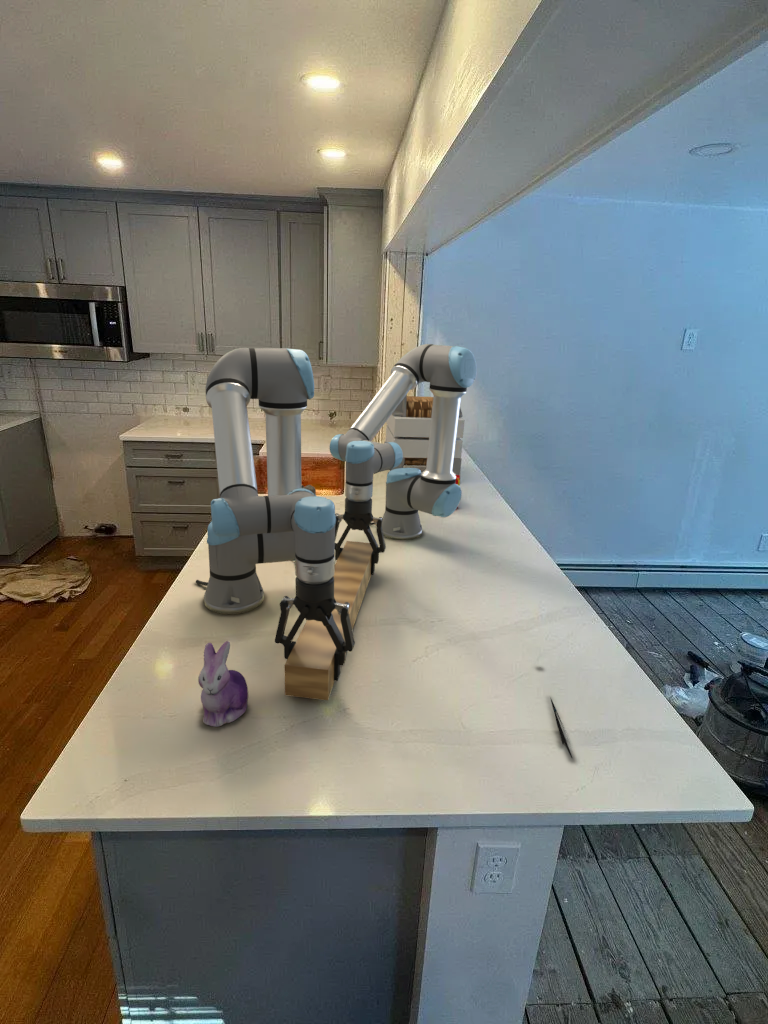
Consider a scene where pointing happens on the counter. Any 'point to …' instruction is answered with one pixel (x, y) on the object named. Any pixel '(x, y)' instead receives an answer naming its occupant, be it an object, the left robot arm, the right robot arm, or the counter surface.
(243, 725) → the counter surface
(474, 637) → the counter surface
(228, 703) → the figurine
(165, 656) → the counter surface
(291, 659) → the wide beam
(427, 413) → the white slatted crate
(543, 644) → the counter surface
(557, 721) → the feather
